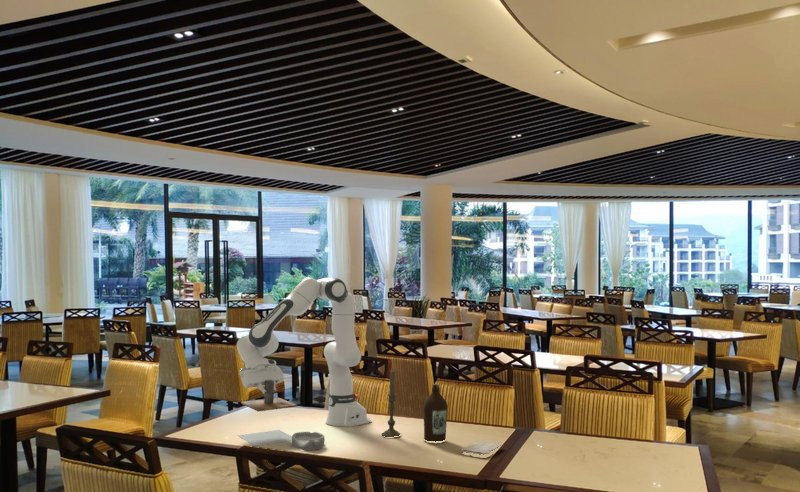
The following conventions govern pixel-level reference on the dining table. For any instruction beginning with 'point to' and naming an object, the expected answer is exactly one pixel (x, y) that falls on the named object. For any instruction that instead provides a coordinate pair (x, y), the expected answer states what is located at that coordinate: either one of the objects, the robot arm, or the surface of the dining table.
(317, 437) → the dish
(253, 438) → the mat
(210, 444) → the dining table surface
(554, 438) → the dining table surface
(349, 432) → the dining table surface
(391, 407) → the candlestick holder
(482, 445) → the washcloth
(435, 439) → the olive oil
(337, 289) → the robot arm
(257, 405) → the lid
